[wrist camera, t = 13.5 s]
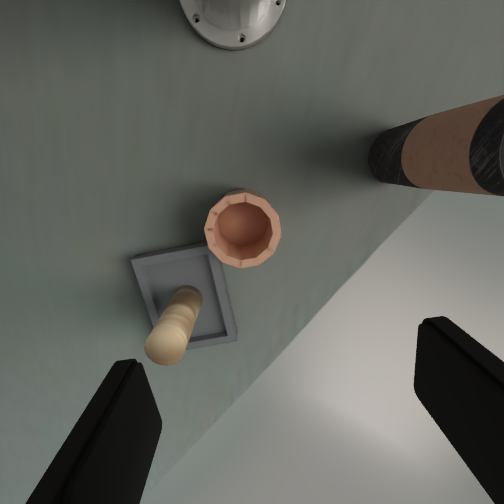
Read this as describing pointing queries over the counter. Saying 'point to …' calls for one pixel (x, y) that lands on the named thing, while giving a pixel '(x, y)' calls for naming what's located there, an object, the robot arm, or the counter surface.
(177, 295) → the peg
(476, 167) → the travel mug
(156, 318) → the tray
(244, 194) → the cup
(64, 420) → the counter surface
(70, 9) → the counter surface
